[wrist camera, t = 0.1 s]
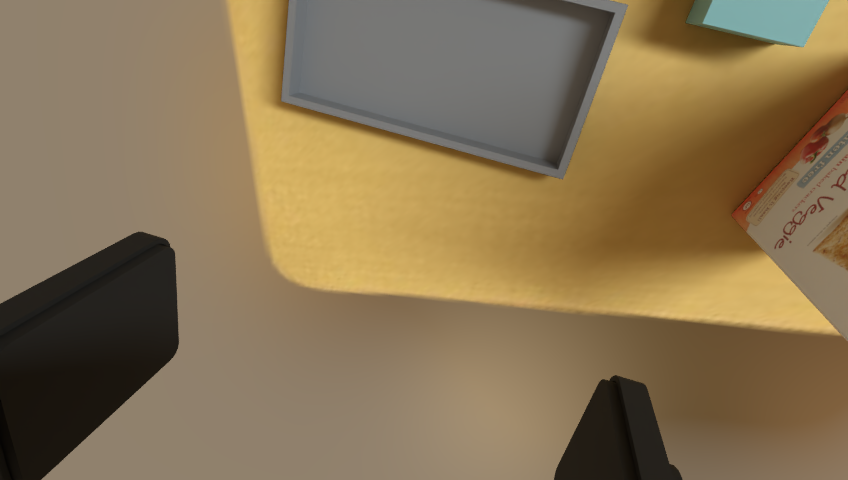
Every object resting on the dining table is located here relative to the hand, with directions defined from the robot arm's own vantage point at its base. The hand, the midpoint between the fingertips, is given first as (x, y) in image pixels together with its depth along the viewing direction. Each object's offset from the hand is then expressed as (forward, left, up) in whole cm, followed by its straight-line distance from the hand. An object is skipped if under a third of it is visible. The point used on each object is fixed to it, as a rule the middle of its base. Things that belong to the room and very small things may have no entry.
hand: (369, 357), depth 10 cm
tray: (-3, -5, -31) cm, 32 cm away
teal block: (-11, +14, -31) cm, 36 cm away
